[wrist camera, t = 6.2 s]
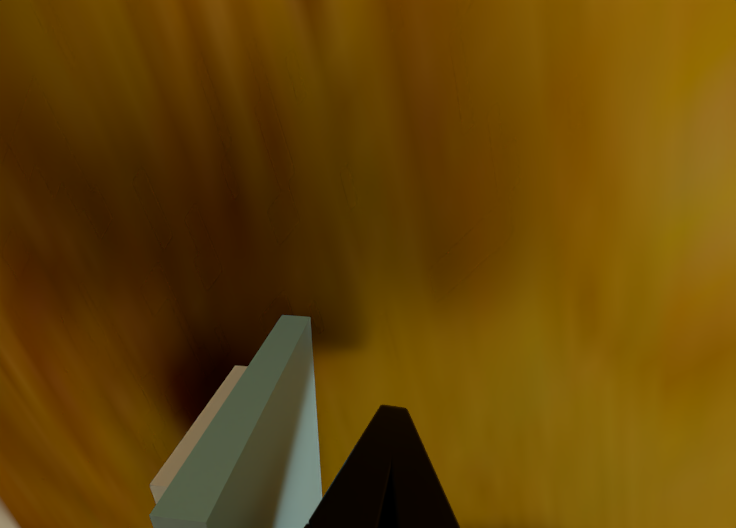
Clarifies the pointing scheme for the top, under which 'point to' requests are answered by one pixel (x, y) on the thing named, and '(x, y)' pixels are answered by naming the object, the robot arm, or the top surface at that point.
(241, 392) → the side door
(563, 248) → the top surface
